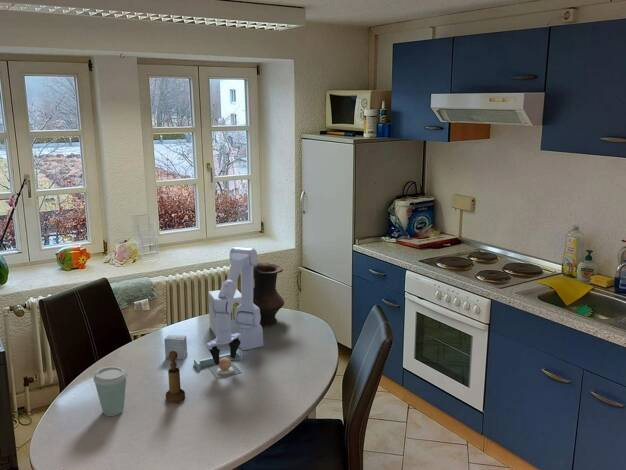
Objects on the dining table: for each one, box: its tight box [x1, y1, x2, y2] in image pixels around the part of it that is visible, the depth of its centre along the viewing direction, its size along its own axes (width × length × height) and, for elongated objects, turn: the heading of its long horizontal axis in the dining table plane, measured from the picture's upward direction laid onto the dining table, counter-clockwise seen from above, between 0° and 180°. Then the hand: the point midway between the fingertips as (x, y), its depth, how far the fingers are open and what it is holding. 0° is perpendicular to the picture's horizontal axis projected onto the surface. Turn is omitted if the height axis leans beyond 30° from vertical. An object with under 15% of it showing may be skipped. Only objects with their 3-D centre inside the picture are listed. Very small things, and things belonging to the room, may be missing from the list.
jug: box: [253, 262, 285, 327], centre depth 269 cm, size 21×18×30 cm
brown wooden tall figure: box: [165, 351, 186, 405], centre depth 202 cm, size 7×6×18 cm
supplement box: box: [208, 288, 241, 337], centre depth 262 cm, size 13×13×18 cm
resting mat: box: [208, 361, 243, 380], centre depth 225 cm, size 10×10×1 cm
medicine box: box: [163, 334, 188, 360], centre depth 236 cm, size 8×4×9 cm, turn 84°
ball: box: [217, 357, 232, 371], centre depth 225 cm, size 5×5×5 cm
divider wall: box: [193, 350, 242, 371], centre depth 232 cm, size 18×5×2 cm, turn 119°
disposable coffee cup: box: [93, 365, 128, 417], centre depth 194 cm, size 11×11×15 cm
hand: (224, 360), depth 224 cm, fingers open, 7 cm apart
